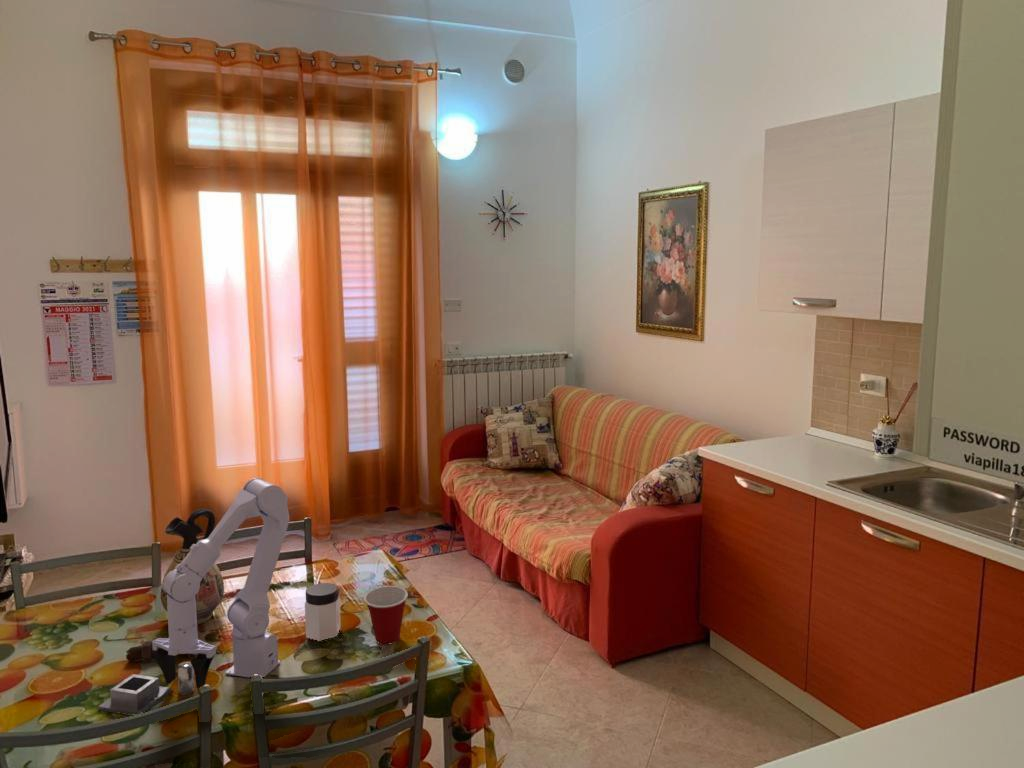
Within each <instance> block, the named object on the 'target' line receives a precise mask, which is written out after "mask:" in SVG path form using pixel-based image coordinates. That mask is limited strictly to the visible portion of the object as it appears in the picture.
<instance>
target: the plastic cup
mask: <svg viewBox="0 0 1024 768" xmlns="http://www.w3.org/2000/svg"><path fill="white" fill-rule="evenodd" d="M408 596H409V594H408V590H406V589H405V588H404V587H400V586H397V585H385V586H379V587H376V588H373V589H371V590H369V591H368V592H366V594H365V595H364V597H363V599H364V603H365V604H366V605H367V608H368V611H369V615H370V619H371V624H372V630H373V633H374V638H375V641H377V643H378V642H379V643H381V644H380V645H384V644H387V645H390V644H389V643H393V642H395V641H397V640H398V639H399V640H400V636H401V635H400V634H401V629H402V625H403V618H404V617H403V616H404V611H405V607H406V606H405V605H406V602H407V598H408ZM399 640H398V641H399ZM398 641H397V642H398ZM379 643H378V644H379ZM395 643H396V642H395ZM393 644H394V643H393Z"/></svg>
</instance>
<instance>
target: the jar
mask: <svg viewBox="0 0 1024 768" xmlns="http://www.w3.org/2000/svg"><path fill="white" fill-rule="evenodd" d="M339 594H340V591H339V586H338V585H336V584H334V583H329V582H321V583H316V584H315V583H314V584H312V585H310V586H308V587H307V588H306V589H305V603H304V617H305V638H306V639H309V638H310V640H312V639H313V640H312V641H315V640H317V641H316V642H319V641H321V640H324V639H328V638H332V637H335V636H337V635H338V636H339V634H340V632H339V630H340V631H341V629H340V628H341V602H340V601H341V598H340V596H341V595H339ZM338 633H339V634H338ZM338 636H337V637H338ZM321 642H322V641H321Z"/></svg>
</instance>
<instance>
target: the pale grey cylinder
mask: <svg viewBox="0 0 1024 768" xmlns="http://www.w3.org/2000/svg"><path fill="white" fill-rule="evenodd" d="M176 673H177V686H178V694H179V695H181V696H186V695H190V694H192V693H193V692H195V688H196V687H195V673H194V669H193V666H192V664H191V661H183V662H181V663H179V664H178V665H177V666H176Z"/></svg>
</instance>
